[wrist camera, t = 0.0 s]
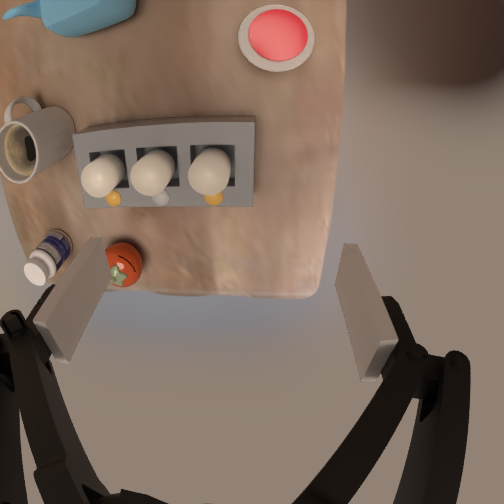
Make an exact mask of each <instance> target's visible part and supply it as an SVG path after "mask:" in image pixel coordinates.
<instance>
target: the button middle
mask: <svg viewBox="0 0 504 504" xmlns="http://www.w3.org/2000/svg"><path fill="white" fill-rule="evenodd" d="M175 169H176V166H175V161H174V159H173V157H172V156H171V155H170V154H169V153H168V152H166V151H164V150H159V149H156V150H152V151H149V152H148V153H147V154H145V155H144V156H143V157H142V158H141V159H140V160H139V161H138V162H137V163H135V164H134V166H133V167H132V169H131V173H130V179H131V183H132V185H133V187H134V188H135V189H136V190H137V191H138V192H139V193H141V194H143V195H146V196H154V195H157V194H159V193H161V192H162V191H163V190H164V189H165V187H166V186H167V184H168V183H169V181H170V180H171V178H172V177H173V175H174V173H175Z"/></svg>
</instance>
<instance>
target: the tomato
mask: <svg viewBox="0 0 504 504" xmlns="http://www.w3.org/2000/svg"><path fill="white" fill-rule="evenodd" d="M105 252H106V256H107V260H108V263H109V267H110V270H111V274H112V279H111V280H110V282H109V283H111V284H113V285H115V286H118V287H128V286H131V285H133V284H135V283H136V282H137V281H138V279H139V278H140V276H141V273H142V258H141V256H140V253H139V251H138V250H137V249H136V248H135V247H134V246H133V245H131V244H129V243H125V242H120V243H115V244H113V245H111V246H109V247H107V248H106V249H105Z"/></svg>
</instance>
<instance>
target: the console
mask: <svg viewBox="0 0 504 504" xmlns="http://www.w3.org/2000/svg"><path fill="white" fill-rule="evenodd" d="M72 137H73V144H74V150H75V156H76V162H77V168H78V173H79V179H80V184H81V189H82V193H83V198H84V203H85V207H86V208H109V207H160V206H217V207H253V193H254V145H255V116H194V117H174V118H159V119H147V120H137V121H127V122H119V123H111V124H103V125H96V126H90V127H87V128H85V129H83V130H81V131H79V132H77V133H75V134H73V135H72ZM207 148H218V149H221V150H223V151H224V152H226V153H227V154H228V156H229V157H230V160H231V163H232V168H231V172H230V177H229V181H228V184H227V186H226V187H225V189H224V190H223V191H221V192H220V193H218V194H215V195H203V194H200V193H198V192H196V191H195V190H194V189H193V188H192V187H191V185H190V183H189V180H188V171H189V168H190V166H191V165H192V163H193V161H194V160H195V158H196V157H197V155H198V154H199V153H200V152H201V151H202V150H204V149H207ZM156 149H159V150H164V151H166V152H168V153H169V154H170V155H171V156H172V157H173V159H174V161H175V166H176V169H175V173H174V175H173V177H172V178H171V180H170V181H169V183H168V184H167V186H166V187H165V189H164V190H163V191H162V192H161V193H159V194H157V195H154V196H146V195H143V194H141V193H139V192H138V191H137V190H136V189H135V188H134V187H133V185H132V183H131V179H130V173H131V169H132V167H133V166H134V164H135V163H137V162H138V161H139V160H140V159H141V158H142V157H143V156H144V155H145V154H147V153H148V152H149V151H152V150H156ZM105 153H111V154H114V155H116V156H118V157H119V158H120V159H121V160H122V162H123V164H124V168H125V174H124V177H123V179H122V181H121V182H120V183H119V184H118V185H117V186H116V187H115V188H114V189H113V190H112V191H111V192H110V193H109V194H108V195H106V196H105V197H102V198H96V197H93V196H91V195H89V194H88V193H87V192H86V191H85V190H84V188H83V186H82V183H81V173H82V171H83V169H84V168H85V167H86V166H87V165H88V164H90V163H91V162H92V161H94V160H95V159H97V158H98V157H99V156H101V155H103V154H105Z"/></svg>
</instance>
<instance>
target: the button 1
mask: <svg viewBox="0 0 504 504" xmlns="http://www.w3.org/2000/svg"><path fill="white" fill-rule="evenodd" d="M124 174H125V168H124V164H123V162H122V160H121V159H120V158H119V157H118V156H116V155H114V154H111V153H105V154H103V155H101V156H99V157H98V158H97V159H95V160H94V161H92V162H91V163H90V164H88V165H87V166H86V167H85V168H84V169H83V171H82V173H81V183H82V186H83V188H84V190H85V191H86V192H87V193H88V194H89V195H91V196H93V197H96V198H102V197H105V196H106V195H108V194H109V193H110V192H111V191H112V190H113V189H114V188H115V187H116V186H117V185H118V184H119V183H120V182H121V181H122V179H123V177H124Z"/></svg>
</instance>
